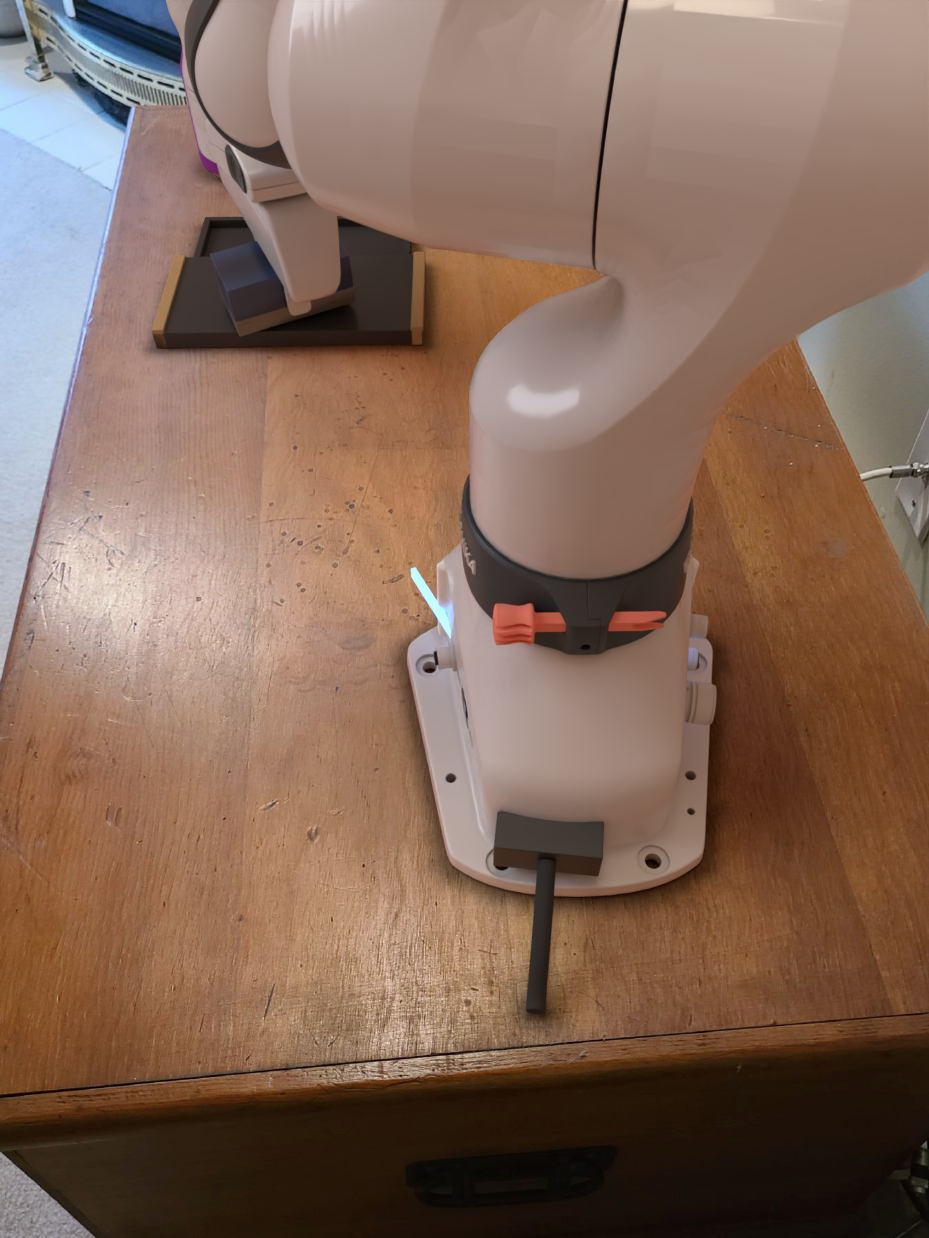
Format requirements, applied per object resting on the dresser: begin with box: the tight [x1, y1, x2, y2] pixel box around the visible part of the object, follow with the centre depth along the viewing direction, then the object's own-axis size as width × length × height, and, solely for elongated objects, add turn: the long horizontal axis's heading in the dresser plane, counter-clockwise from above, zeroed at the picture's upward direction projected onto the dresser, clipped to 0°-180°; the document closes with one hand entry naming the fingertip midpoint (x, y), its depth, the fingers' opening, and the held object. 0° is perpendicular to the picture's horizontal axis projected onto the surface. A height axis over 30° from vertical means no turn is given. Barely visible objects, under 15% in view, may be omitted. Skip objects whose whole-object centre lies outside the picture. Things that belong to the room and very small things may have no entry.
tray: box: [193, 215, 412, 257], centre depth 90 cm, size 7×19×1 cm, turn 90°
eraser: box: [210, 239, 356, 337], centre depth 80 cm, size 5×10×4 cm, turn 114°
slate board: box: [151, 251, 427, 349], centre depth 84 cm, size 11×22×2 cm, turn 91°
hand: (286, 288), depth 80 cm, fingers closed on eraser, 5 cm apart
